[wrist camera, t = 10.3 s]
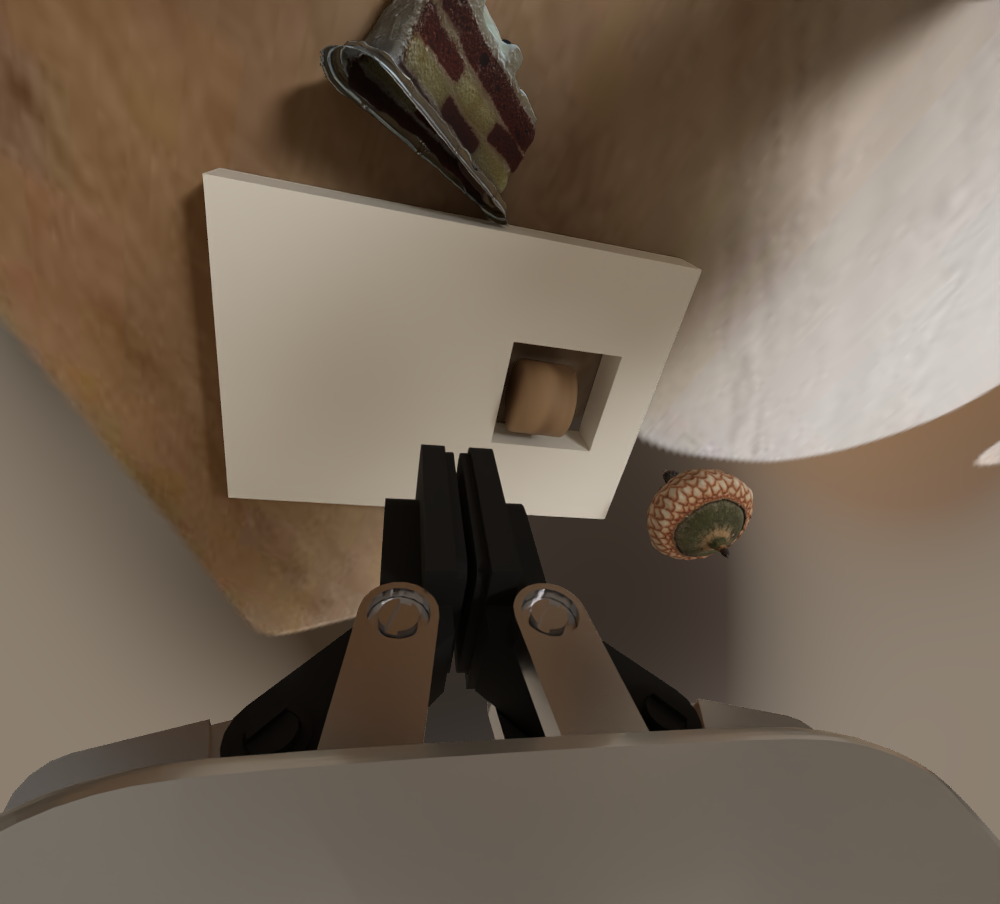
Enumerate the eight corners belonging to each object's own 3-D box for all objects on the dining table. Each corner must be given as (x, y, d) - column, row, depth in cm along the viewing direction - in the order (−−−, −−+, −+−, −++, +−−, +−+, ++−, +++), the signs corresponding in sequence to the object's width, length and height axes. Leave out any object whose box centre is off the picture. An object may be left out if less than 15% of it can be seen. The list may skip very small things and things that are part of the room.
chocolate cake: (582, 133, 31) (538, -90, 19) (513, 237, 31) (431, 81, 20) (458, 75, 33) (354, -150, 22) (397, 172, 34) (266, 2, 22)
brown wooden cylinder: (515, 348, 37) (562, 356, 38) (500, 413, 39) (544, 418, 40) (532, 373, 32) (584, 381, 33) (513, 444, 35) (563, 450, 36)
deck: (680, 258, 35) (702, 269, 32) (593, 496, 45) (604, 519, 43) (219, 167, 28) (202, 173, 26) (239, 472, 38) (228, 497, 36)
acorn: (609, 458, 43) (659, 541, 35) (704, 415, 42) (778, 490, 34) (635, 524, 48) (685, 611, 39) (721, 486, 47) (790, 567, 39)
